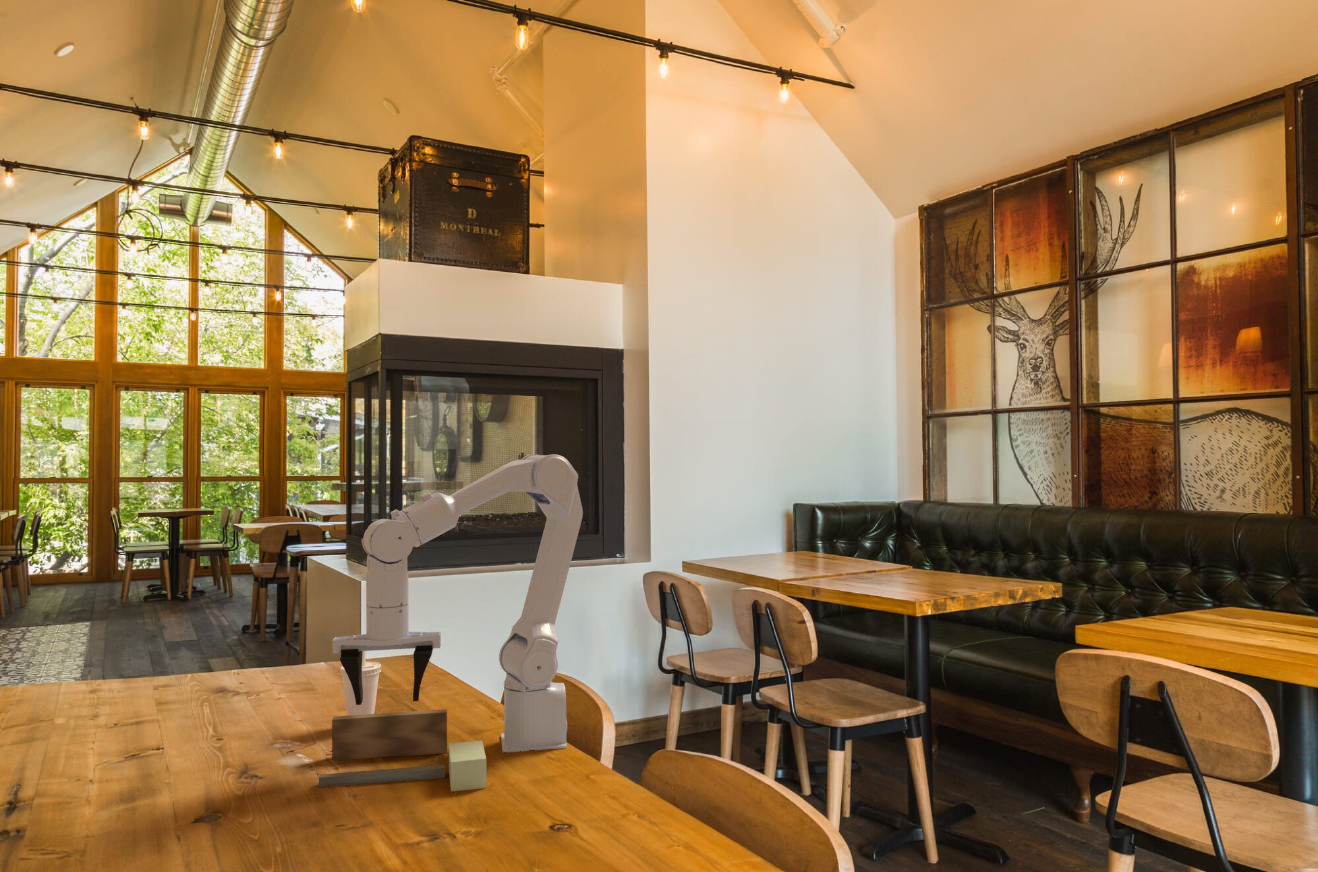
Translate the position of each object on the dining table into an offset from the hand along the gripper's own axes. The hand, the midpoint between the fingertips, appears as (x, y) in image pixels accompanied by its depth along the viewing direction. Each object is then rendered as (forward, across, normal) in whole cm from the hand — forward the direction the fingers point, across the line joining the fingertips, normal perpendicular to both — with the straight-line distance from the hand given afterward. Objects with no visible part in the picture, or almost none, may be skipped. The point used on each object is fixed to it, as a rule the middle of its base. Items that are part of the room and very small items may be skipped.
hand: (387, 701), depth 125 cm
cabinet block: (+9, -11, +9) cm, 17 cm away
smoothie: (+9, +6, -20) cm, 23 cm away
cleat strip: (+9, 0, +7) cm, 12 cm away
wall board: (+9, 0, -4) cm, 10 cm away
